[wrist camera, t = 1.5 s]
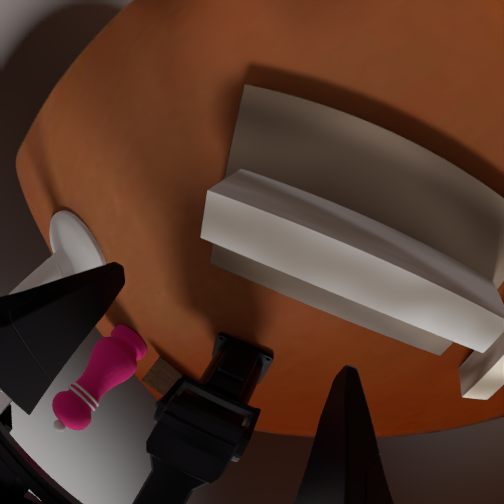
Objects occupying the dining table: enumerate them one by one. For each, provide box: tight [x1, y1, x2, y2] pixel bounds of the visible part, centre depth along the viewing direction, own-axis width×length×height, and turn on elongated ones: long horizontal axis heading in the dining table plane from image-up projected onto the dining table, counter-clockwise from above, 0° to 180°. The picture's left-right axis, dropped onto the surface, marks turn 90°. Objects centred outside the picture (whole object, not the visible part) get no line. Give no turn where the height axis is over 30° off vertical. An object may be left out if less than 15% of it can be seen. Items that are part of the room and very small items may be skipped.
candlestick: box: [9, 210, 106, 295], centre depth 21 cm, size 13×13×30 cm
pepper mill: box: [52, 325, 147, 432], centre depth 31 cm, size 7×7×20 cm
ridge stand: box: [200, 84, 504, 356], centre depth 16 cm, size 14×22×6 cm, turn 77°
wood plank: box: [142, 357, 183, 395], centre depth 38 cm, size 15×2×5 cm, turn 48°
